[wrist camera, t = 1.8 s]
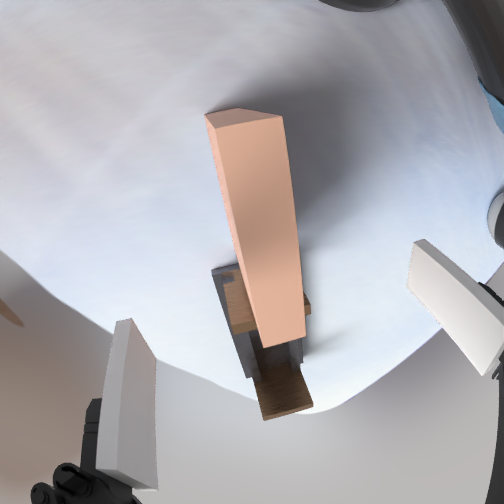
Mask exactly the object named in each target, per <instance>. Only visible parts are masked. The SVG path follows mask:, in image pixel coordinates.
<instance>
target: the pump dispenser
mask: <svg viewBox="0 0 504 504" xmlns="http://www.w3.org/2000/svg"><path fill="white" fill-rule="evenodd" d="M487 221H488V228H489V232H490V234H491V236H492V237H493V239H494V240H495V242H496V244H497V245H498V246H500V247H501V248H502V249H504V192H503V193H501V194H499V195H498V196H497V197H496V198H495V199H494V200H493V202H492V204H491V206H490V209H489V212H488V220H487Z"/></svg>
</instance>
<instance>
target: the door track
mask: <svg viewBox="0 0 504 504" xmlns="http://www.w3.org/2000/svg"><path fill="white" fill-rule="evenodd" d="M211 271H212V277H213V280H214V283H215V286H216V289H217V293H218V296H219V299H220V302H221V305H222V308H223V311H224V314H225V317H226V320H227V323H228V326H229V329H230V332H231V335H232V338H233V341H234V344H235V347H236V350H237V353H238V356H239V359H240V362H241V365H242V367H243V370H244V373H245V376H246V378H250V377H252V378H253V382H254V385H255V389H256V393H257V397H258V401H259V405H260V408H261V413H262V417H263V420H269V419H273V418H277V417H281V416H284V415H288V414H291V413H295V412H298V411H302V410H305V409H308V408H311V407H313V401H312V398H311V396H310V393H309V391H308V388H307V386H306V383H305V381H304V378H303V375H302V373H301V370H300V364H301V363H303V352H302V339H301V338H298V339H295V340H291V341H288V342H284V343H281V344H277V345H274V346H270V347H266V348H263V344H262V341H261V338H260V334H259V331H258V327H257V324H256V321H255V317H254V314H253V311H252V307H251V304H250V300H249V297H248V293H247V290H246V287H245V283H244V280H243V276H242V273H241V269H240V266H239V263H238V264H234V265H230V266H226V267H222V268H218V269H214V270H211ZM303 299H304V313H305V316H306V315H309V314H311V306H310V303H309V301H308V299H307V297H306V295H305V293H304V291H303Z"/></svg>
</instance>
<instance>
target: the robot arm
mask: <svg viewBox="0 0 504 504" xmlns="http://www.w3.org/2000/svg"><path fill="white" fill-rule="evenodd" d="M319 1H321V2H323V3H326V4H328V5H331V6H333V7H336V8H340V9H343V10H348V11H354V12H369V11H375V10H378V9H381V8H385V7H388V6H390V5H393V4H394V3H396V2H398V1H399V0H319ZM442 1H443V3H444V5H445V6H446V8H447V10H448V12H449V13H450V15H451V17H452V19H453V21H454V23H455V24H456V26H457V28H458V30H459V32H460V34H461V36H462V39H463V41H464V43H465V45H466V47H467V49H468V52H469V54H470V56H471V59H472V61H473V64H474V66H475V69H476V71H477V74H478V80H479V84H480V87H481V89H482V90H483V92H484V93H485V95H486V98H487V100H488V103H489V106H490V109H491V112H492V115H493V117H494V120H495V122H496V124H497V125H498V127H499V129H500V130H501V131H502V133H503V134H504V0H442ZM406 288H407V289H408V290H409V291H410V292H411V293H412V294H413V295H414V296H415V297H416V298H417V299H418V300H419V302H420V303H421V304H422V305H423V306H424V307H425V308H426V309H427V310H428V311H429V313H430V314H431V315H432V316H433V317H434V318H435V319H436V321H437V322H438V323H439V324H440V325H441V326H442V327H443V329H444V330H445V331H446V332H447V333H448V334H449V336H450V337H451V338H452V339H453V340H454V342H455V343H456V344H457V345H458V346H459V348H460V349H461V350H462V351H463V353H464V354H465V355H466V356H467V357H468V359H469V360H470V361H471V363H472V364H473V365H474V366H475V368H476V369H477V370H478V372H479V373H480V374H481V376H483V375H484V374H485V373H487V372H488V371H489V370H491V369H492V368H493V366H494V365H495V363H496V362H497V360H498V359H499V360H500V362H501V363H500V364H499V366H498V367H497V369H496V370H495V372H494V373H493V375H492V379H494V378H495V376H496V375H497V374H498V372H499V375H498V376H497V378H496V379H497V380H499V417H498V431H497V442H496V450H495V457H494V464H493V470H492V475H491V480H490V485H489V490H488V494H487V498H486V502H485V504H504V301H502V299H501V298H500V297H499V296H498V295H496V293H495V292H494V291H493V290H492V289H491V288H490V287H488V286H486V285H484V284H482V283H480V282H478V283H477V282H476V281H475V280H474V279H472V278H471V277H470V276H469V275H468V274H467V273H466V272H465V271H463V270H462V269H461V268H460V267H459V266H457V265H456V264H455V263H454V262H453V261H452V260H450V259H449V258H448V257H447V256H445V255H444V254H443V253H442V252H441V251H439V250H438V249H437V248H436V247H434V246H433V245H432V244H430V243H429V242H428V241H427V240H425V239H422V240H419V241H416V242H413V248H412V255H411V261H410V267H409V273H408V279H407V284H406ZM155 382H156V357H155V356H154V354H153V353H152V351H151V350H150V348H149V346H148V345H147V343H146V341H145V340H144V338H143V336H142V335H141V333H140V331H139V330H138V328H137V326H136V325H135V323H134V321H133V319H132V318H131V319H126V320H121V321H117V322H116V326H115V330H114V335H113V340H112V345H111V350H110V356H109V361H108V366H107V372H106V378H105V384H104V390H103V397H102V398H99V399H92V401H91V403H90V405H89V407H88V408H87V411H86V418H85V423H86V424H85V425H84V434H83V442H82V451H81V452H82V453H81V463H80V467H78V466H76V465H74V464H72V463H63V464H61V465H59V466H58V467H57V468H56V469H55V471H54V474H53V485H54V486H53V487H52V486H50V485H48V484H46V483H43V482H41V483H37V484H35V485H34V486H33V488H32V490H31V502H32V504H142V503H141V502H140V501H139V500H138V499H137V498H136V497H135V496H134V495H133V494H132V488H135V489H137V490H139V491H158V478H157V462H156V437H155V436H156V435H155Z"/></svg>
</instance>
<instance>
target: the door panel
mask: <svg viewBox="0 0 504 504" xmlns="http://www.w3.org/2000/svg"><path fill="white" fill-rule="evenodd" d="M204 116H205V120H206V125H207V130H208V134H209V139H210V143H211V148H212V152H213V157H214V161H215V166H216V170H217V175H218V179H219V184H220V188H221V192H222V197H223V201H224V206H225V210H226V214H227V219H228V223H229V227H230V231H231V236H232V240H233V244H234V248H235V252H236V255H237V259H238V262H239V266H240V269H241V273H242V276H243V280H244V283H245V287H246V290H247V293H248V297H249V300H250V304H251V307H252V311H253V314H254V317H255V321H256V324H257V327H258V331H259V334H260V338H261V341H262V344H263V348H266V347H270V346H274V345H277V344H281V343H284V342H288V341H291V340H295V339H298V338H301V337H305V336H306V328H305V313H304V299H303V287H302V275H301V264H300V253H299V243H298V234H297V224H296V215H295V207H294V198H293V190H292V182H291V174H290V167H289V159H288V152H287V145H286V138H285V131H284V125H283V118H282V116H279V115H274V114H269V113H264V112H258V111H253V110H247V109H241V108H234V109H229V110H224V111H219V112H214V113H210V114H206V115H204Z"/></svg>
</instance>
